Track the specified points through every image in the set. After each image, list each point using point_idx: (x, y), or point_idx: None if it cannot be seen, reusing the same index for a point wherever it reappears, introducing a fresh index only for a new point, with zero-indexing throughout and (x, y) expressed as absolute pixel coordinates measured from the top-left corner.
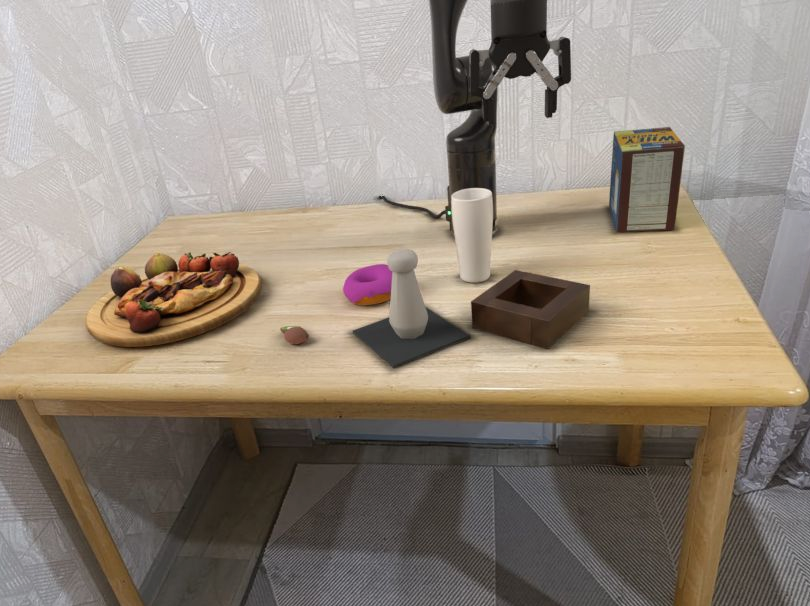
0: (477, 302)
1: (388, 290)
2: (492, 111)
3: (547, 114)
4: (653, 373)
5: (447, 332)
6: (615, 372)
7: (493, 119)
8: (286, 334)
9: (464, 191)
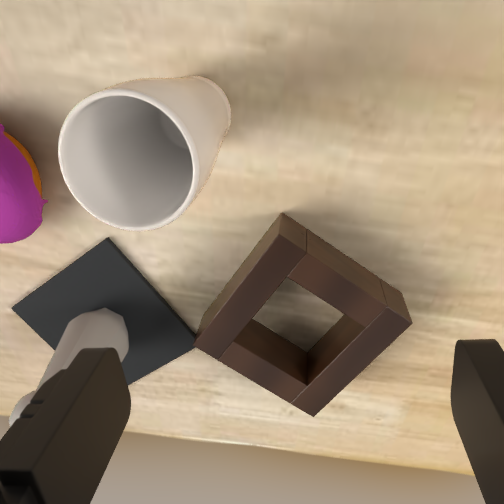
0: (204, 351)
1: (26, 236)
2: (98, 475)
3: (457, 418)
4: (431, 441)
5: (165, 333)
6: (387, 434)
7: (121, 433)
8: None
9: (95, 100)
